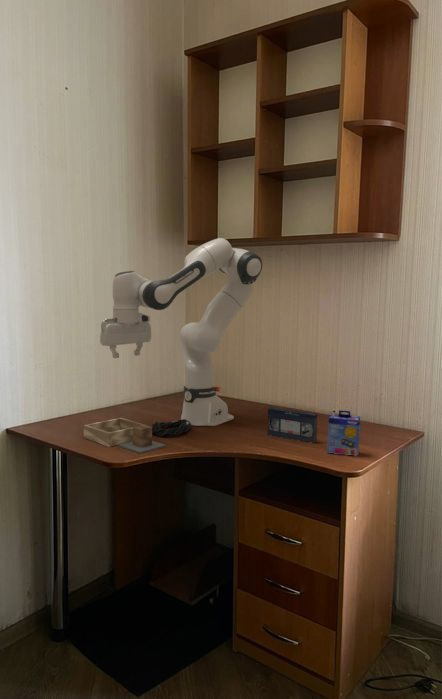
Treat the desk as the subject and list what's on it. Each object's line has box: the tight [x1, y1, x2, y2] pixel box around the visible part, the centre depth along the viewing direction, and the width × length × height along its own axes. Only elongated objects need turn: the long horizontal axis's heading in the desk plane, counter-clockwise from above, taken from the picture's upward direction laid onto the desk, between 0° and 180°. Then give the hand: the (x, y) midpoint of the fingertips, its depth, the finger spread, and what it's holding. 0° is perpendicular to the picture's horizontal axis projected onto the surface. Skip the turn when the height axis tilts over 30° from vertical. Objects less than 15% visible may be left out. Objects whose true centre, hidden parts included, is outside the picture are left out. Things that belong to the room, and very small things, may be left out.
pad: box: [118, 440, 167, 454], centre depth 182 cm, size 11×11×1 cm
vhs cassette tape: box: [267, 407, 318, 444], centre depth 193 cm, size 18×3×10 cm, turn 55°
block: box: [133, 424, 153, 448], centre depth 181 cm, size 4×4×6 cm
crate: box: [83, 417, 148, 448], centre depth 192 cm, size 16×15×4 cm
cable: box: [151, 419, 193, 438], centre depth 201 cm, size 17×14×4 cm
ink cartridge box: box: [327, 409, 361, 457], centre depth 177 cm, size 10×6×14 cm, turn 73°
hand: (126, 356), depth 193 cm, fingers open, 8 cm apart
